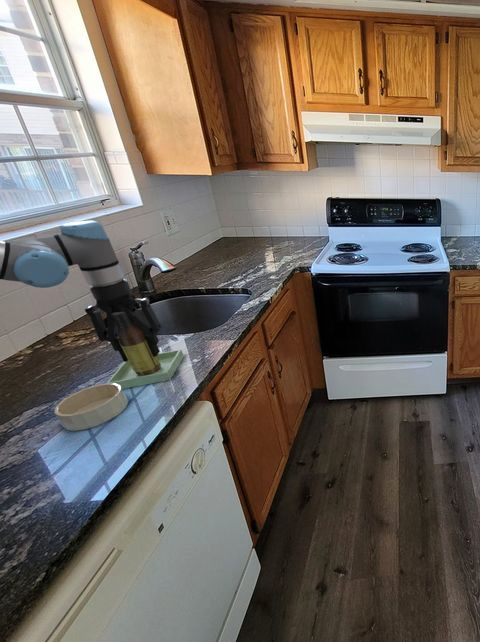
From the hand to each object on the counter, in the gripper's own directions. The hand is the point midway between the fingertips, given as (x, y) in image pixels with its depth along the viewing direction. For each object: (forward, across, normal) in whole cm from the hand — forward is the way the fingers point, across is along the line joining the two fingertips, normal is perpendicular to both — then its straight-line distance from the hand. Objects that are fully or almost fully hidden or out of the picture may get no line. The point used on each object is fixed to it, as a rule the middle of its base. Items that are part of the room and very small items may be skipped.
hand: (142, 356), depth 104 cm
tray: (+6, 0, 0) cm, 6 cm away
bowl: (+5, +6, +16) cm, 18 cm away
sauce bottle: (+5, 0, 0) cm, 5 cm away
